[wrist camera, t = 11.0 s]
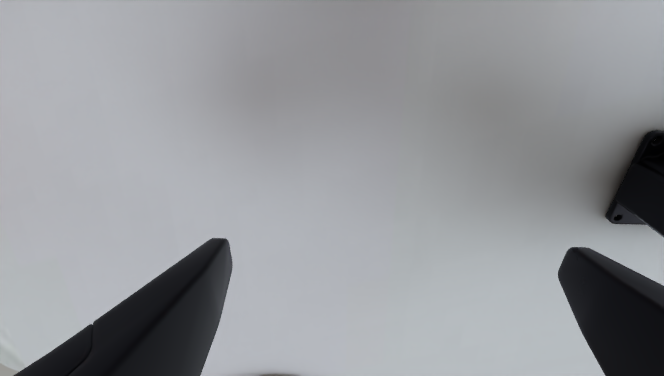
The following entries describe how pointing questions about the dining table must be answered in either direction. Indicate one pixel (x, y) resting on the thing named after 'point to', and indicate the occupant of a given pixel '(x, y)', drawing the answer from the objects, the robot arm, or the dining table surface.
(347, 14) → the dining table surface
